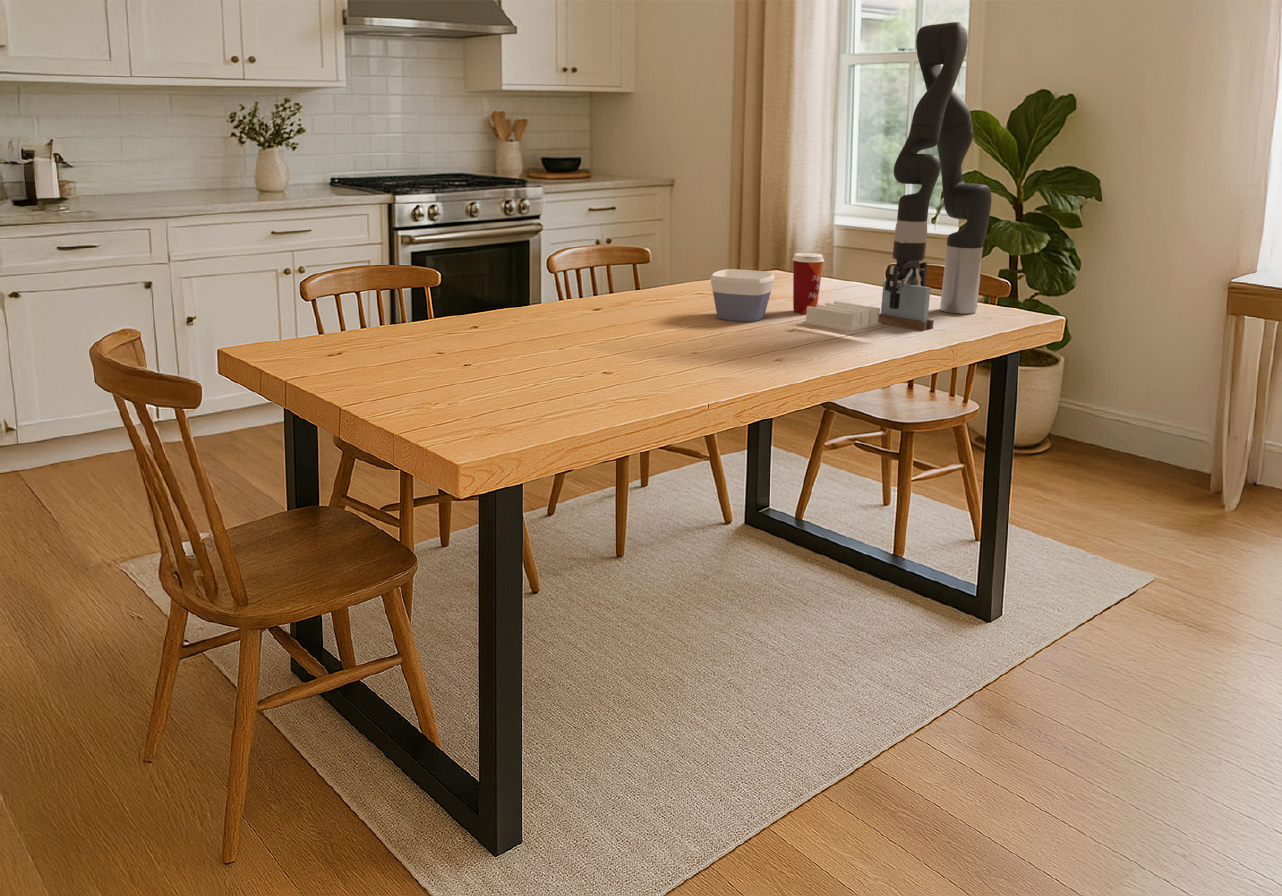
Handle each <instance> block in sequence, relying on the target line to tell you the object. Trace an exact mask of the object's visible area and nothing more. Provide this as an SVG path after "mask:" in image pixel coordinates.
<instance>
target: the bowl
mask: <svg viewBox="0 0 1282 896" xmlns="http://www.w3.org/2000/svg"><path fill="white" fill-rule="evenodd" d="M709 278H710V285H711V290H712V294H713V300H714V306H715V310H716V317H717V318H718V319H719V320H724V321H730V322H731V321H732V322H746V323H755V322H757V321H760V320H762V319H764V318H765V315H766V310H767V308H768V307H767V306H768V303H769V300H770V296H771V293H772V290H773V289H772V288H773V287H774V282H775V278H776V277H775V275H774V273H773V272H770V271H763V270H762V271H761V270H751V269H750V270H749V269H737V268H736V269H731V268H727V269H722V270H718V271H715V272H713V273H712V274H711V276H710V277H709Z"/></svg>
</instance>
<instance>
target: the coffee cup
mask: <svg viewBox="0 0 1282 896" xmlns="http://www.w3.org/2000/svg"><path fill="white" fill-rule="evenodd" d="M791 260H792V261H793V262H792V263H793V265H792V266H793V269H792V271H793V274H792V275H793V278H792V281H793V285H792V286H793V288H792V290H793V293H792V297H793V299H792V300H793V302H792V303H793V305H792V307H793V313H795V314H800V315H802V314H803V315H806V313H807V306H810V307H816V305H819V295H820V287H821V279H822V273H823V272H822V271H823V263H824V262H825V259H824V255H823V254H821V253H813V252H797V253H794V255H793V257H792V259H791Z"/></svg>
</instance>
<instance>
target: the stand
mask: <svg viewBox="0 0 1282 896" xmlns="http://www.w3.org/2000/svg"><path fill="white" fill-rule="evenodd" d="M934 321H935V320H934V319H930V318H928V319H927V328H926V322H923V321H917V320H912V319H906V318H900V317H894V316H888V315H882V314H881V313H879V323H881V325H886V326H892V327H899V328H903V329H909V330H913V331H921V332H924V331H929V330H933V329H934V323H935V322H934Z"/></svg>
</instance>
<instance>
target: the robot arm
mask: <svg viewBox="0 0 1282 896" xmlns="http://www.w3.org/2000/svg"><path fill="white" fill-rule="evenodd" d="M968 40H969V39H968V31H967V28H966V26H965V25H964V24H963V23H961V22H959V21H955V22H954V21H953V22H944V23H935V24H929V25H923V26H922V27H920V28H919V30H918V31H917V34H916V39H915V44H916V45H915V46H916V47H915V48H916V54H917V55H916V56H917V59H918V63H919V66H920V67H919V68H920V70H921V74H922V78H923V83H924V85H925V89H926V92H925V93H924V94H923V96H922V97H921V98H920V99H919V101H918V103H917V104H916V107H915V109H914V112H913V115H912V119H911V124H910V129H909V132H908V136H907V138H906V141H905V142H904V144H903V147H902V149H901V150H900V152H899V154H898V156H897V158H896V160H895V162H894V167H893V176H894V179H895V181H896V182H898V183H899V184H903V185H918V186H919V185H921V186H920V189H919V190H918V192H916V193H909V194H908V193H907V194H903V195H901V196H900V198H899V201H898V206H897V217H896V224H895V228H894V237H893V238H894V239H893V248H892V249H893V250H892V258H893V259H894V260H895V261H896V263H895V265H888V266H887V271H886V279H885V281H886V285H885V290H886V291H889V292H890V308H891V309H898V308H899V301H900V294H899V293H900V291H901V289H902V287H903V286H905V285H906V284H911V285H918V286H925V287H926V281H927V269H928V268H927V267H928V263H927V262H925V261H924V260H925V258H926V257H925V256H926V246H927V236H928V215H929V206H930V201H931V198H932V194H933V191H934V188H935V186H936V184H937V181H938V178H939V176H940V172H941V182H942V183H941V184H942V196H943V197H942V198H943V206H944V209H945V212H946V214H947V215H948V217H950V218H952V219H958V220H966V222H965V227H964V228H962V229H961V230H959V231H956V232H953V233H950V234H948V236H947V240H946V247H945V249H946V250H945V258H944V260H945V261H944V269H943V279H942V288H941V296H940V297H941V298H940V306H939V307H940V308H939V310H940V311H942V312H945V313H952V314H961V315H962V314H963V315H965V314H968V315H969V314H974V313H976V311H977V309H978V300H979V293H980V292H979V291H980V283H981V269H982V258H983V250H984V243H985V242H984V241H985V238H986V236H987V232H988V227H989V221H990V220H989V219H990V214H991V208H992V201H993V199H992V192H991V189H990V187H989V186H988V185H986V184H982V183H980V184H979V183H970V182H969V183H968V182H967V183H966V182H965V181H964V178H963V174H962V172H963V170H962V167H963V161H964V159H965V158H966V155H967V154H968V151H969V148H970V146H971V145H972V142H973V139H974V127H973V121H972V115H971V114H972V113H971V111H970V108H969V106H968V104H967V103H966V101H965V100H964V99H963V98H962V97H961V95H960V94H959V93H958V92H957V91H956V90H955V88H954V87H955V84H956V81H957V80H958V77H959V74H960V70H961V68H962V65H963V63H964V60H965V56H966V53H967V49H968V42H969V41H968ZM936 146H937V147H936ZM934 147H936V148H937V152H938V156H937V155H935V154H933V153H919V152H920V151H921V152H922V151H924V150H927V149H932V148H934ZM890 282H892V284H891V286H890ZM897 285H898V287H897Z"/></svg>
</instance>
